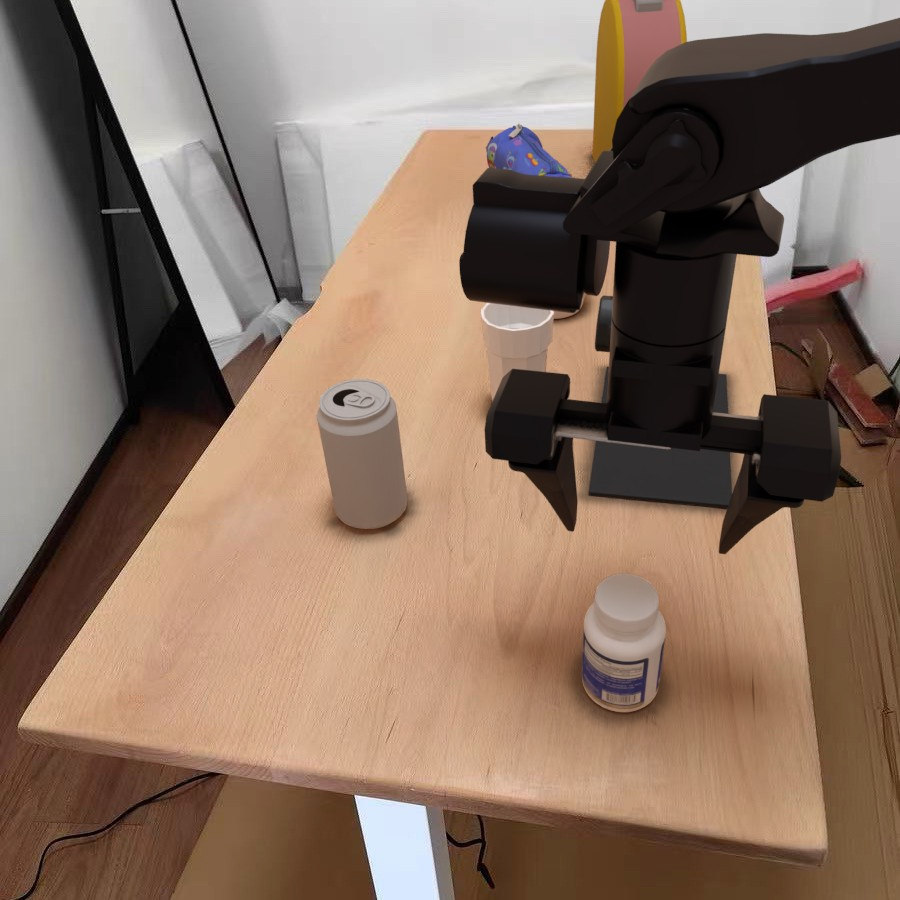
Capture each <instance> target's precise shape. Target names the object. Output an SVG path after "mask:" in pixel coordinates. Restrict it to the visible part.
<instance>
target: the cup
mask: <svg viewBox="0 0 900 900" xmlns="http://www.w3.org/2000/svg"><path fill="white" fill-rule="evenodd" d="M480 317H481V327H482V337H483V343H484V344H483V345H484V347H485V348H486V355H487V365H488V374H489V384H490V385H489V386H490V393H491V401H493V399H494V397H495V394H496V392H497V390H498V387H499V385H500V383H501V380H502V378H503V377H504V376H505V375H506V374H507V373H508V372H509V371H510V370H511V369H521V370H531V371H541V372H547V366H548V365H547V364H548V351H549V347H550V345H551V343H552V342H553V333H554V332H553V331H554V320H555V319H554V312H553V311H551V310H543V309H534V308H526V307H518V306H510V305H502V304H494V303H485V305H484V306H483V307H482V308H481V310H480Z"/></svg>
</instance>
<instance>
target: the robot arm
mask: <svg viewBox="0 0 900 900" xmlns="http://www.w3.org/2000/svg"><path fill="white" fill-rule="evenodd" d="M896 136H900V17H897V18H894V19H889V20H886V21H882V22H878V23H875V24H870V25H867V26H864V27H860V28H859V27H858V28H855V29H852V30H848V31H841V32H830V33H829V32H828V33H821V34H801V33H800V34H799V33H798V34H797V33H773V32H772V33H771V32H770V33H769V32H767V33H766V32H764V33H751V34H743V35H732V36H723V37H711V38H702V39H695V40H689V41H687V42H685V43H683V44H681V45H678V46H676V47H674V48H672V49H670V50H668V51H666V52H665V53H664V54H662V55H661V56H660V57H659V58H658V59H656V61H655V62H654V63H653V64H652V65H651V66H650V68H649V69H648V71H647V73H646V74H645V76H644V77H643V79H642V80H641V82H640V83H639V85H638V86H637V88H636V89H635V91H634V93H633V94H632V96H631V97H630V99H629V100H628V102H627V104H626V105H625V107H624V109H623V110H622V112H621V114H620V115H619V117H618V119H617V121H616V125H615V129H614V134H613V138H612V148H611V149H610V150H609V151H603V152H602V153H601V154H600V156H599V157H598V159H597V161H596V162H594V164H593V165H592V167H591V168H590V170H589V172H588V173H587V175H586V176H585V178H579V177H575V178H567V177H553V176H539V175H527V174H521V173H518V172H515V171H512V170H507V169H496V168H489V167H487V168H486V169H485V170H484V171H483V172H482V173H481V174H480V176H479V177H478V178H477V179H476V180H475V181H474V182H473V184H472V203H473V204H472V207H471V209H470V212H469V216H468V218H467V219H468V220H467V223H466V228H465V234H464V236H465V237H464V242H463V251H462V253H461V255H460V256H459V260H458V261H459V263H458V264H459V278H460V284H461V288H462V292H463V294H464V296H465V298H466V299H467V300H468V301H471V302H478V303H485V304H487V303H494V304H502V305H510V306H518V307H526V308H534V309H543V310H551V311H559V312H567V313H575V312H576V310H579V311H581V309H580V307H581V303H582V298H583V295H584V293H585V295H586V296H593V297H599V295H600V294H601V292H602V289H603V287H604V283H605V279H606V276H607V270H608V266H609V258H610V248H611V242H614V243H615V253H614V254H615V255H614V268H613V288H612V295H606V294H605V295H601V296H600V298H599V306H598V314H597V321H596V326H595V337H594V338H595V339H594V349H595V351H596V352H602V353H609V355H608V356H609V357H608V367H609V372H608V390H607V403H602V402H596V401H590V400H589V401H587V400H579V399H570V398H569V397H570V395H571V377H570V376H569V375H570V374H568V373H559V372H549V371H546V372H541V371H531V370H521V369H511V370H510V371H509V372H508V373H507V374H506V375H505V376H504V377H503V378H502V380H501V383H500V385H499V387H498V390H497V392H496V394H495V397H494V399H493V401H492V400H491V401H492V402H491V404H490V406H489V409H488V411H487V414H486V417H485V423H484V443H485V444H484V445H485V447H484V449H485V452H486V454H487V455H488V456H489V457H490V458H491V459H492V460H499V461H507V463H508V468H509V469H510V470H512V471H513V472H518V473H523V474H524V475H525V477H527V478H528V479H529V480H530V481H531V483H532V484H533V486H535V487H536V488H537V489H538V491H539V492H540V493H541V494H542V495H543V496H544V498H545V499H546V500H547V502H548V503H549V505H550V506H551V508H552V509H553V511H554V512H555V514H556V516H557V517H558V519H559V520H560V522H561V523H562V524H563V527H564V528H565V529H566V531H567V532H574V531H575V529H576V525H577V521H578V519H577V517H578V501H579V500H578V489H577V479H576V477H577V476H576V469H575V468H576V467H575V455H574V443H573V442H574V439H578V440H586V441H595V442H596V441H602V442H611V443H619V444H627V445H635V446H644V447H652V448H660V449H672V448H677V449H686V450H694V451H700V449H706V450H714V451H723V452H730V454H731V453H732V454H742V455H743V457H742V462H741V466H740V469H739V473H738V475H737V478H736V481H735V484H734V487H733V489H732V496H731V499H730V502H729V505H728V508H726V511H725V514H724V517H723V520H722V523H721V530H720V535H719V543H718V544H719V545H718V554H721V555H727V554H728V553H729V552H730V551H731V550H732V549H733V548H734V547H735V546H736V545H737V544H738V543H739V542H740V541H741V540H743V538H745V536H746V535H747V534H748V533H750V532H751V531H752V530H753V529H754V528H755V527H756V526H758V525H760V524H761V523H762V522H764V521H765V520H766V519H768V518H770V517H771V516H772V515H774V514H775V513H777V512H779V511H780V510H782V509H783V508H789V509H798V508H800V507H802V506H803V504H804V502H805V500H806V501H814V502H821V503H822V502H824V501H826V500H829V499H830V498H832V497H834V494H835V490H836V487H837V484H838V479H839V476H840V473H841V472H840V471H841V462H842V449H841V448H842V447H841V438H840V428H839V416H838V412H837V410H836V409H835V407H834V406H833V405H832V404H831V403H830V401H829V400H825V399H813V398H804V397H795V396H784V395H776V394H775V395H774V394H763V395H762V396H761V398H760V403H759V408H758V415H757V416H752V415H743V414H733V413H728V414H725V413H715V412H713V408H714V401H715V395H716V388H717V382H718V375H719V374H720V369H721V362H722V356H723V348H724V341H725V335H726V329H727V323H728V315H729V309H730V302H731V296H732V289H733V283H734V276H735V270H736V263H737V256H738V255H741V256H742V255H743V256H752V257H764V258H772V257H774V256H776V255H777V254H779V251H780V247H781V241H782V235H783V229H784V223H785V217H784V214H783V213H782V212H780V211H779V210H778V209H777V208H775V206H773V205H772V204H771V203H770V202H769V201H767V200H766V198H765V197H764V196H763V194H762V192H761V190H760V189H762V188H765V187H768V186H770V185H772V184H773V183H776V182H777V181H779V180H782V179H783V178H784V177H787V176H788V175H790V174H792V173H794V172H795V171H798V170H799V169H801V168H803V167H804V166H806V165H808V164H810V163H811V162H814V161H816V160H818V159H819V158H822V157H823V156H827V155H828V154H832V153H834V152H837V151H840V150H842V149H845V148H848V147H851V146H854V145H857V144H863V143H867V142H872V141H877V140H882V139H887V138H891V137H896ZM581 308H582V307H581ZM575 314H576V313H575Z"/></svg>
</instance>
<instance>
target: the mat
mask: <svg viewBox="0 0 900 900" xmlns="http://www.w3.org/2000/svg"><path fill="white" fill-rule="evenodd" d="M608 372H609V366H606V369H605V375H604V382H603V390H602V397H601V403H607V390H608ZM727 377H728V376H727V373H719V375H718V382H717V388H716V395H715V401H714V408H713V412H715V413H725V414H729V402H728V401H729V400H728V381H727ZM731 464H732V461H731V452H723V451H714V450H706V449H700V451H694V450H686V449H677V448H672V449H660V448H652V447H644V446H635V445H627V444H619V443H611V442H602V441H595V445H594V452H593V460H592V467H591V473H590V480H589V485H588V493H587V494H588V496H594V497H604V498H614V499H625V500H636V501H646V502H655V503H657V502H658V503H665V504H678V505H687V506H699V507H706V508H707V507H709V508H720V509H727V508H728V505H729V502H730V499H731V496H732V493H733V483H732V482H733V481H732V465H731Z"/></svg>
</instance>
